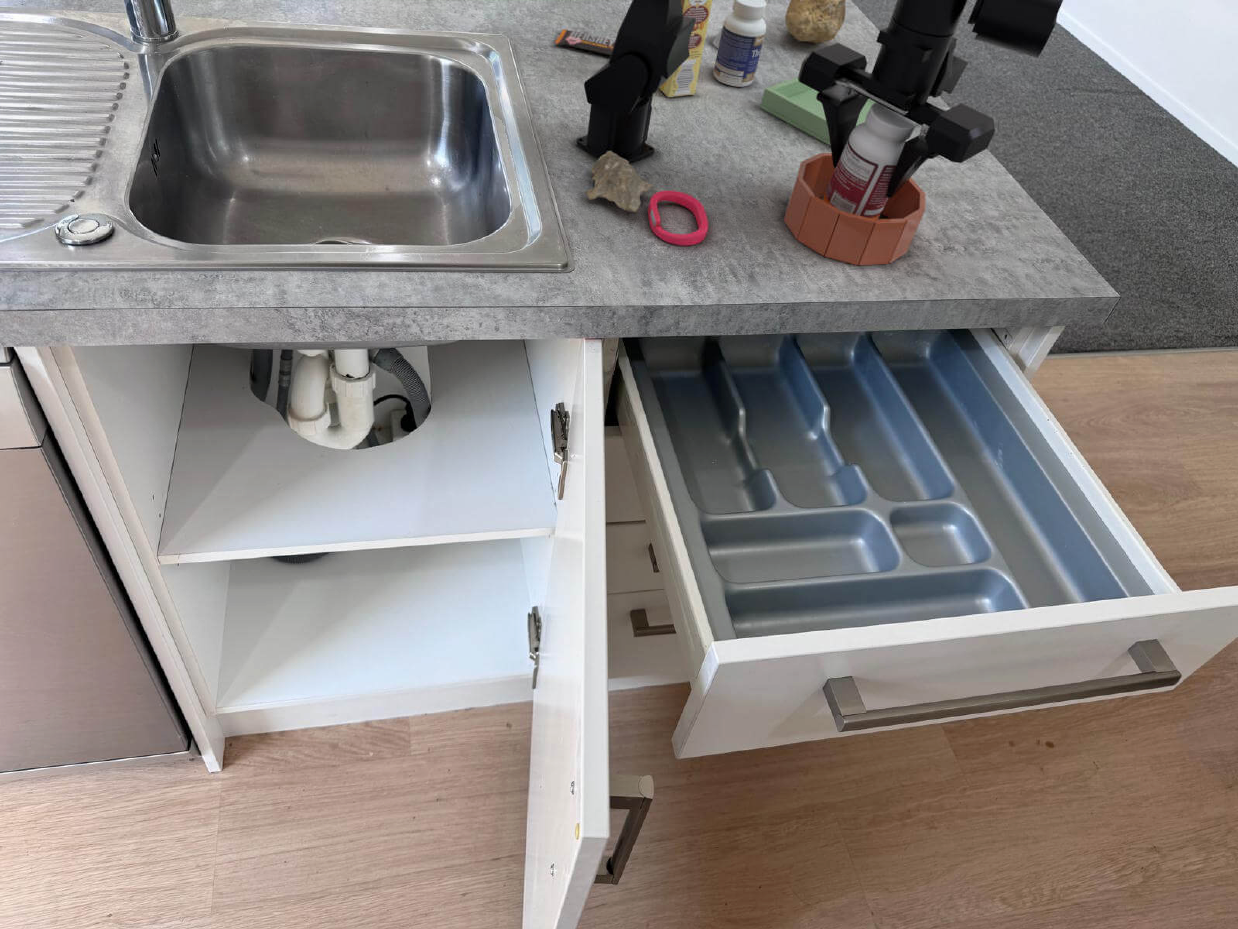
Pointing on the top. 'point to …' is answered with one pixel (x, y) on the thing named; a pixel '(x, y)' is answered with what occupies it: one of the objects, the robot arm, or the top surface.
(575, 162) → the top surface
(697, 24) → the candy box
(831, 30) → the tan rock
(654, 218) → the fitness band
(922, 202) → the segmented terracotta ring
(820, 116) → the tray
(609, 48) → the chocolate bar
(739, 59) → the pill bottle
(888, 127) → the pill bottle
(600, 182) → the artifact
